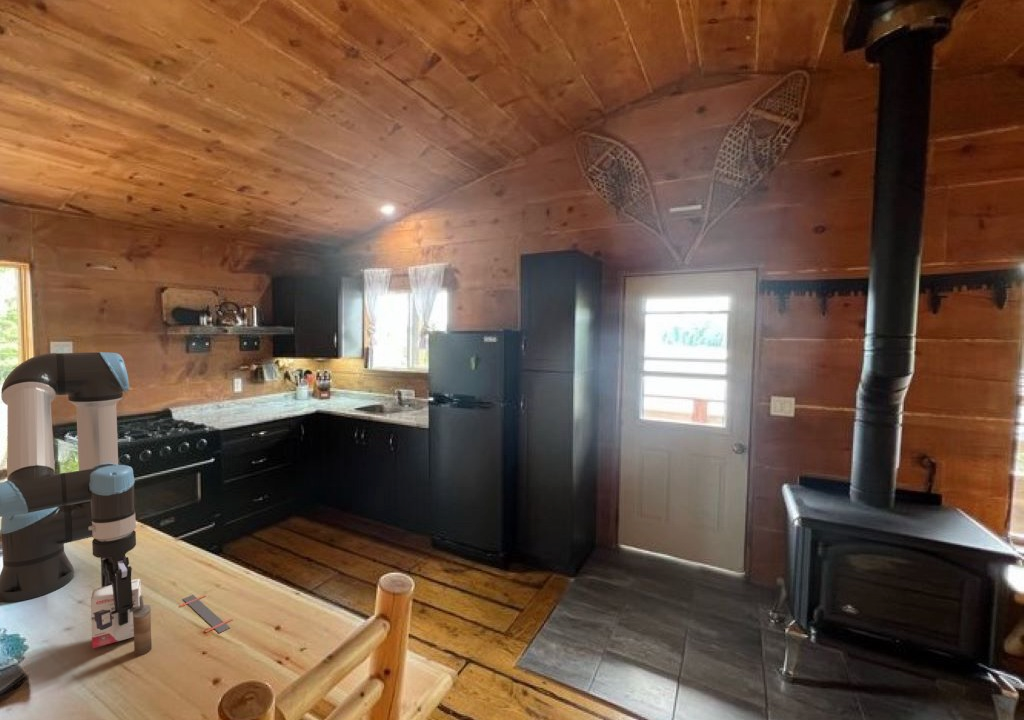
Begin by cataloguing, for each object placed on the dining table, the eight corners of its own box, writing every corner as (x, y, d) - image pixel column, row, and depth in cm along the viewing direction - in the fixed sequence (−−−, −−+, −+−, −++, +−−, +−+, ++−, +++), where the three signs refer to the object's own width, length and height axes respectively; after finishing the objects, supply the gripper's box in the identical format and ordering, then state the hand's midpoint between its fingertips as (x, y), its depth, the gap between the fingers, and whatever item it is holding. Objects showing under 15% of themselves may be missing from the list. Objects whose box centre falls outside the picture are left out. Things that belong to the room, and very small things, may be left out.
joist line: (174, 602, 120) (174, 602, 120) (200, 592, 125) (200, 591, 125) (210, 637, 108) (210, 636, 108) (237, 624, 112) (237, 623, 112)
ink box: (91, 649, 101) (89, 599, 101) (95, 637, 105) (93, 588, 105) (140, 635, 106) (139, 587, 106) (142, 623, 110) (140, 577, 110)
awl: (132, 651, 102) (130, 596, 101) (149, 644, 105) (147, 590, 104) (136, 658, 100) (134, 601, 99) (153, 650, 103) (152, 595, 102)
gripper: (81, 528, 107) (85, 621, 108) (104, 554, 95) (109, 657, 97) (122, 517, 113) (125, 606, 114) (148, 540, 102) (151, 638, 103)
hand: (117, 629), depth 106 cm, fingers closed on ink box, 6 cm apart
